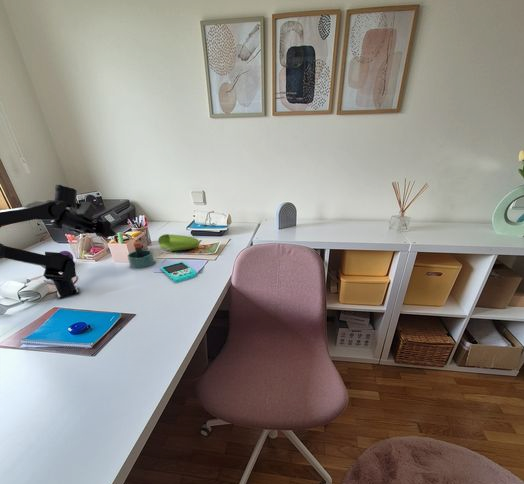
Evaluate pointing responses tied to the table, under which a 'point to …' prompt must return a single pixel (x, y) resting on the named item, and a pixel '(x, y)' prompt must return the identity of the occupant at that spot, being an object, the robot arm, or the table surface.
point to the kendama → (66, 254)
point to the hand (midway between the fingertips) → (106, 232)
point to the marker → (138, 249)
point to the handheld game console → (179, 271)
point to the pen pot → (141, 259)
